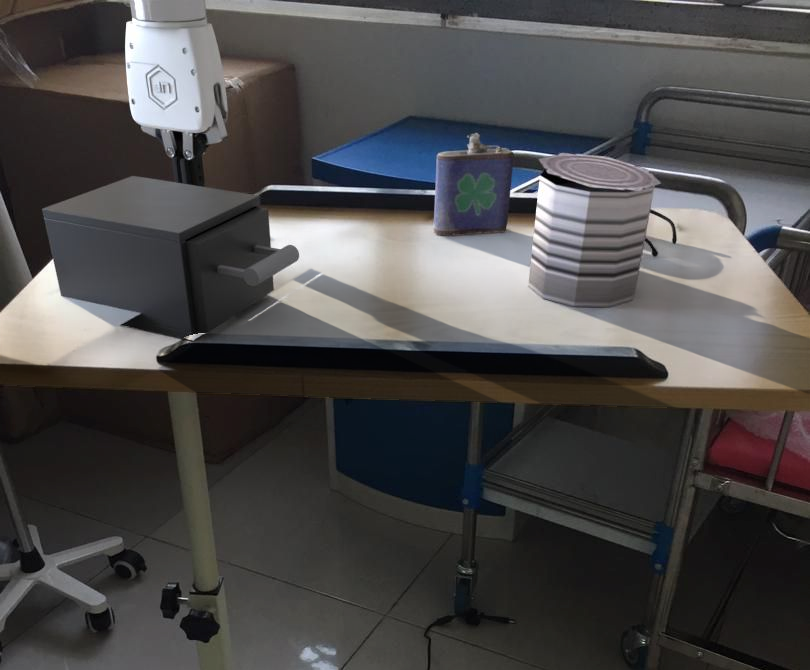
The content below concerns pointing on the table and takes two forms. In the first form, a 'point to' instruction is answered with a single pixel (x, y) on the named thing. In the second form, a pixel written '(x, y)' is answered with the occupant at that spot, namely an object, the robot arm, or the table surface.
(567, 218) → the can
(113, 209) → the grey drawer casing
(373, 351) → the table surface
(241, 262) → the pull-out drawer box
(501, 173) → the flask
